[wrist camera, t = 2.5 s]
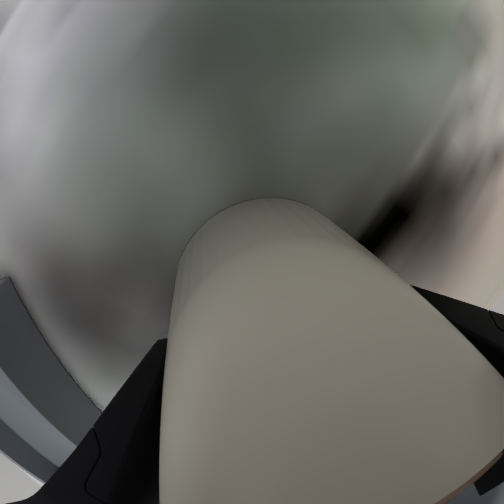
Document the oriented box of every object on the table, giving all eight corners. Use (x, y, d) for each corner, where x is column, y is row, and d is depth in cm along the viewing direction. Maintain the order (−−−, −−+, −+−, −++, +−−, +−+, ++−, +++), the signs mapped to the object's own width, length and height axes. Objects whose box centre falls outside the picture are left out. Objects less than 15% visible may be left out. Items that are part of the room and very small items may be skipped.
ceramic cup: (347, 326, 11) (449, 490, 4) (204, 364, 10) (228, 566, 3) (342, 181, 8) (591, 337, 1) (151, 224, 8) (49, 546, 1)
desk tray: (169, 473, 15) (170, 505, 12) (59, 464, 14) (54, 489, 12) (8, 276, 8) (-31, 320, 5) (-75, 309, 7) (-97, 335, 4)
